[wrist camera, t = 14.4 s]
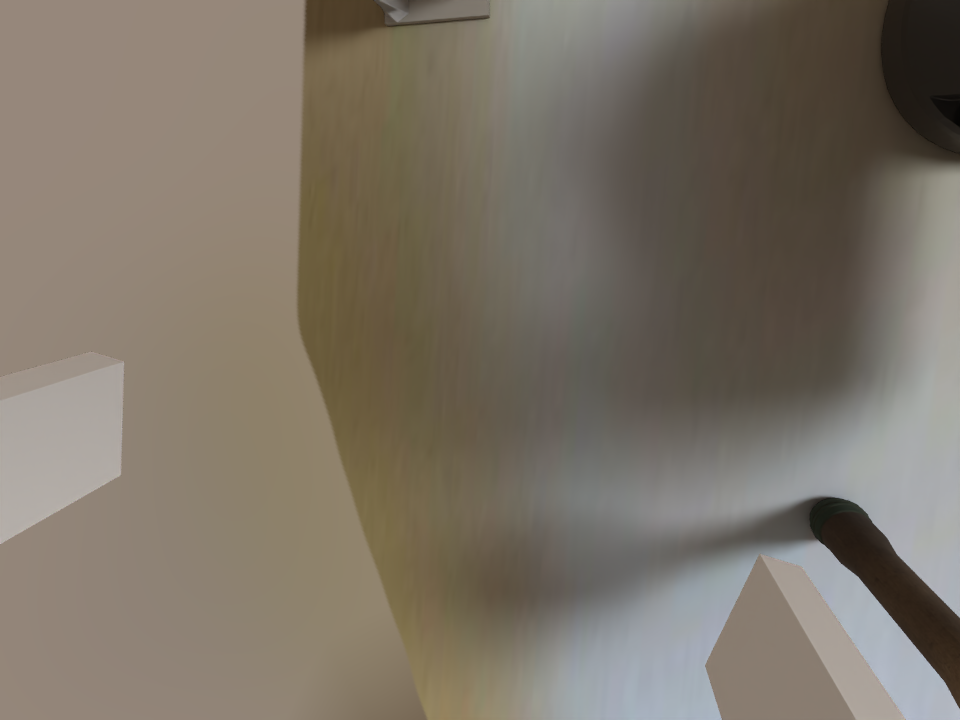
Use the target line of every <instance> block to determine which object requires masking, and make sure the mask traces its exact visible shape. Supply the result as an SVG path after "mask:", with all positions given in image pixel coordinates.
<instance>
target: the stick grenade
mask: <svg viewBox="0 0 960 720" xmlns="http://www.w3.org/2000/svg"><path fill="white" fill-rule="evenodd" d="M810 527H811V529H812V531H813V534H814V535H815V537H816V538H817V539H818V540H819V541H820V542H821V543H822V544H824V545H825V546H826V547H827V548H828V549H830V551H831V552H832V553H833V554H834V555H835V557H836V558H837V559H838V560H839V562H840V563H841V564H843V565H844V566H845V567H846V568H848V569H849V570H850V571H852V572H853V573H854V574H855V575H857V576H858V577H859V578H860V579H861V581H862V582H863V583H864V584H865V586H866V587H867V588H868V589H869V590H870V592H871V593H872V594H873V595H874V596H875V598H876V599H877V600H878V601H879V603H880V604H881V605H882V606H883V607H884V609H885V610H886V611H887V612H888V614H889V615H890V616H891V617H892V618H893V620H894V621H895V622H896V623H897V624H898V626H899V627H900V628H901V629H902V631H903V632H904V633H905V634H906V635H907V637H908V638H909V639H910V640H911V641H912V643H913V644H914V645H915V646H916V648H917V649H918V650H919V651H920V652H921V654H922V655H923V656H924V657H925V658H926V660H927V661H928V662H929V663H930V665H931V666H932V667H933V668H934V669H935V671H936V672H937V673H938V674H939V675H940V677H941V678H942V679H943V680H944V682H945V683H946V685H947V687H948V688H949V690H950V692H951V694H952V696H953V698H954V699H955V701H956V703H957V705H958V707H959V708H960V618H959V617H958V616H957V615H956V614H955V613H954V612H953V611H952V610H951V609H950V608H949V607H948V606H947V605H946V604H945V603H944V602H943V601H942V600H941V599H940V598H939V597H938V596H937V595H936V594H935V593H934V592H933V591H932V590H931V589H930V588H929V587H928V586H927V585H926V584H925V583H924V582H923V581H922V580H921V579H920V578H919V577H918V576H917V575H916V574H915V573H914V571H913V570H912V569H911V568H910V567H909V566H908V565H907V564H906V563H905V562H904V561H903V560H902V559H901V558H900V557H899V556H898V555H897V554H896V552H895V551H894V549H893V547H892V546H891V544H890V542H889V540H888V539H887V538H886V536H885V535H884V534H883V533H882V532H881V531H880V530H879V529H878V528H877V527H876V526H875V525H874V524H873V523H872V521H871V519H870V518H869V517H868V514H867V513H866V512H865V511H864V510H863V509H862V508H860V507H859V506H858V505H857V504H855V503H853V502H850V501H848V500H844V499H839V498H830V499H825V500H823V501H821V502H819V503H818V504H817V505H816V506H815V507H814V508H813V509H812V511H811V513H810Z"/></svg>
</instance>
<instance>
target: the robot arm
mask: <svg viewBox="0 0 960 720" xmlns="http://www.w3.org/2000/svg"><path fill="white" fill-rule="evenodd" d="M882 63H883V71H884V75H885V80H886V83H887V87H888V90H889V92H890V95H891V97H892V99H893V101H894V103H895V105H896V107H897V108H898V110H899V111H900V113H901V114H902V116H903V117H904V118H905V120H906V121H907V122H908V123H909V124H910V125H911V126H912V127H913V128H914V129H915V130H916V131H917V132H918V133H920V134H921V135H922V136H924V137H925V138H926V139H928V140H930V141H931V142H933V143H935V144H937V145H939V146H941V147H943V148H945V149H948V150H951V151H953V152H957V153H960V0H890V2H889V5H888V8H887V12H886V16H885V21H884V27H883V35H882ZM123 385H124V361H121V360H118V359H115V358H112V357H108V356H105V355H102V354H98V353H95V352H92V351H91V352H87V353H84V354H80V355H76V356H73V357H69V358H66V359H62V360H58V361H55V362H51V363H48V364H44V365H40V366H36V367H33V368H29V369H26V370H22V371H19V372H15V373H11V374H8V375H4V376H0V544H1V543H3V542H5V541H6V540H8V539H10V538H12V537H13V536H15V535H17V534H19V533H20V532H22V531H24V530H26V529H27V528H29V527H31V526H33V525H34V524H36V523H38V522H40V521H41V520H43V519H45V518H47V517H48V516H50V515H52V514H54V513H55V512H57V511H59V510H61V509H62V508H64V507H66V506H68V505H69V504H71V503H73V502H75V501H76V500H78V499H80V498H82V497H83V496H85V495H87V494H89V493H90V492H92V491H94V490H96V489H97V488H99V487H101V486H103V485H104V484H106V483H108V482H110V481H111V480H113V479H115V478H117V477H118V476H120V475H121V449H122V419H123V418H122V417H123ZM705 667H706V670H707V673H708V676H709V679H710V683H711V686H712V689H713V692H714V695H715V699H716V702H717V705H718V708H719V711H720V715H721V718H722V720H906V719H905V718H904V716H903V715H902V713H901V712H900V710H899V709H898V707H897V706H896V705H895V703H894V702H893V700H892V699H891V697H890V696H889V694H888V693H887V691H886V690H885V688H884V687H883V685H882V684H881V683H880V681H879V680H878V678H877V677H876V675H875V674H874V672H873V671H872V669H871V668H870V666H869V665H868V663H867V662H866V660H865V659H864V658H863V656H862V655H861V653H860V652H859V650H858V649H857V647H856V646H855V644H854V643H853V641H852V640H851V638H850V637H849V636H848V634H847V633H846V631H845V630H844V628H843V627H842V625H841V624H840V622H839V621H838V619H837V618H836V616H835V615H834V614H833V612H832V611H831V609H830V608H829V606H828V605H827V603H826V602H825V600H824V599H823V597H822V596H821V594H820V593H819V591H818V590H817V589H816V587H815V586H814V584H813V583H812V581H811V580H810V578H809V577H808V575H807V574H806V572H805V571H804V569H803V568H802V567H801V566H798V565H794V564H791V563H788V562H784V561H781V560H778V559H775V558H771V557H768V556H765V555H761V554H759V556H758V558H757V560H756V563H755V565H754V567H753V569H752V571H751V573H750V575H749V577H748V579H747V581H746V583H745V585H744V587H743V589H742V591H741V593H740V595H739V597H738V599H737V601H736V603H735V605H734V607H733V609H732V612H731V614H730V616H729V618H728V620H727V622H726V624H725V626H724V628H723V630H722V632H721V634H720V636H719V638H718V640H717V642H716V644H715V646H714V648H713V650H712V652H711V654H710V656H709V658H708V661H707V663H706V665H705Z"/></svg>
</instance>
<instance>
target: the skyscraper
mask: <svg viewBox="0 0 960 720" xmlns="http://www.w3.org/2000/svg"><path fill="white" fill-rule="evenodd" d="M374 1H375V2H376V3H377V4H378V5H379V6H380V7H381V8H382V10H383V11H384V16H385V24H386V25H387V26H395V25H407V24H418V23H430V22H442V21H454V20H466V19H478V18H490V8H489V0H374Z"/></svg>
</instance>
